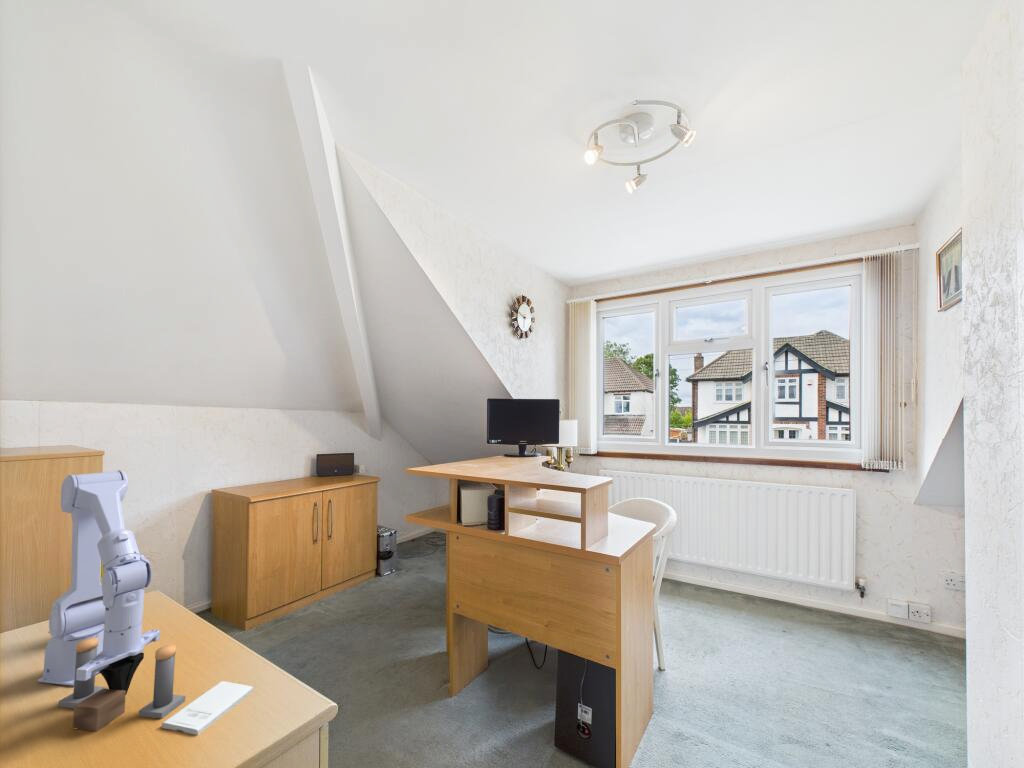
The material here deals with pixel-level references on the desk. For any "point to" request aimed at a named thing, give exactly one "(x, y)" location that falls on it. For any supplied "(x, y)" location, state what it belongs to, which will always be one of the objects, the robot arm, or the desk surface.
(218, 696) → the external hard drive
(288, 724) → the desk surface
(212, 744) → the desk surface
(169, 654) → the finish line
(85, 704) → the walnut block
